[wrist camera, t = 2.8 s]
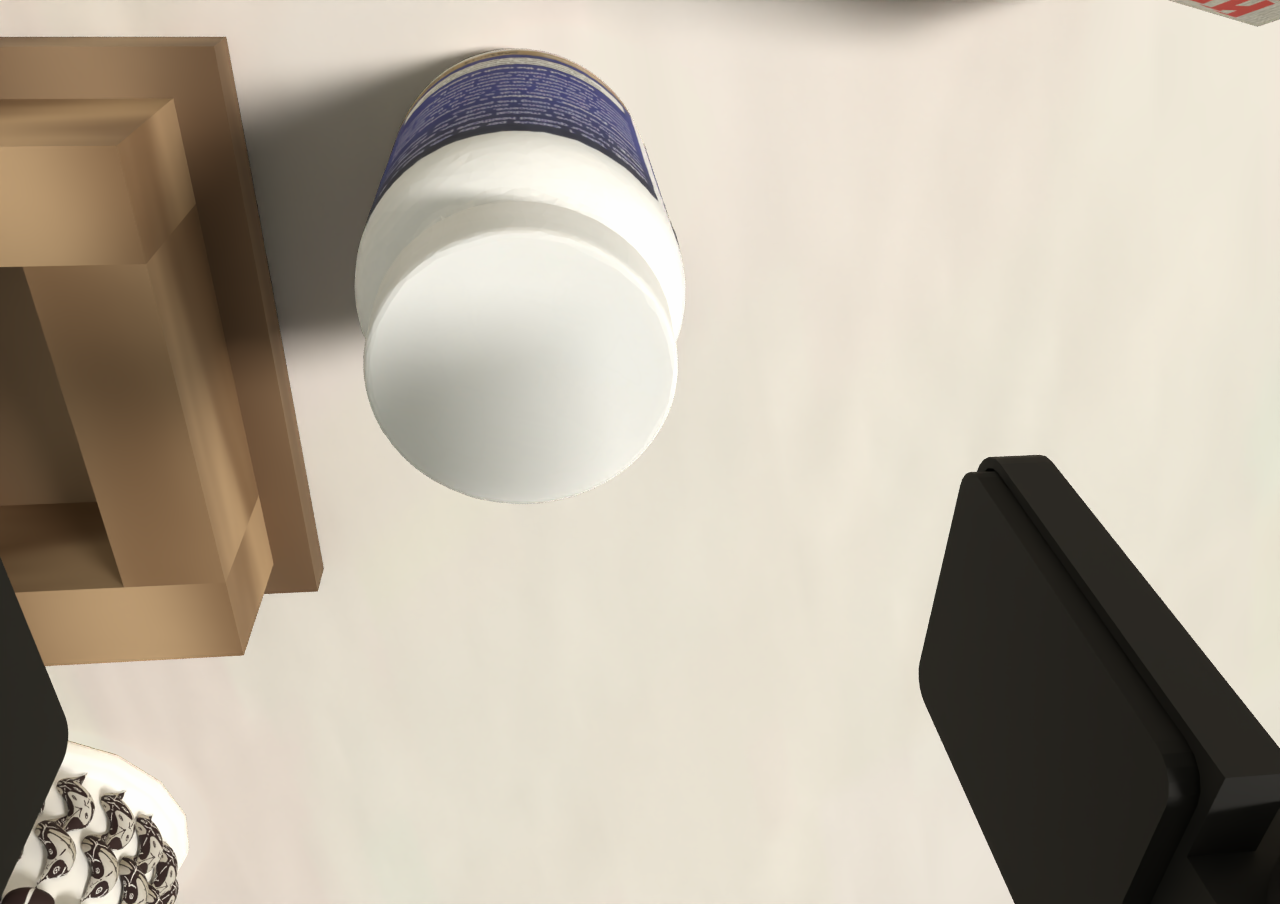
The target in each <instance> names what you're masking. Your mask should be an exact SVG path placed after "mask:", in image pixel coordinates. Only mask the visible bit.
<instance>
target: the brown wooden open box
mask: <svg viewBox="0 0 1280 904" xmlns="http://www.w3.org/2000/svg"><path fill="white" fill-rule="evenodd" d="M0 558H1V560H2V562H3V565H4V567H5V570H6V572H7V575H8V577H9V580H10V582H11V585H12V587H13V589H14V592H15V594H16V597H17V599H18V602H19V604H20V607H21V609H22V612H23V614H24V617H25V619H26V621H27V624H28V626H29V629H30V631H31V634H32V636H33V639H34V641H35V644H36V646H37V648H38V651H39V653H40V656H41V658H42V661H43V663H44V666H54V665H73V664H91V663H110V662H128V661H147V660H166V659H184V658H203V657H221V656H240V655H244V653H245V650H246V647H247V644H248V641H249V638H250V634H251V631H252V628H253V625H254V622H255V619H256V616H257V613H258V610H259V607H260V604H261V601H262V598H263V595H264V594H273V593H294V592H314V591H318V588H319V584H320V580H321V577H322V573H323V569H324V568H323V562H322V557H321V551H320V546H319V541H318V535H317V530H316V524H315V519H314V513H313V508H312V502H311V497H310V492H309V486H308V481H307V475H306V470H305V464H304V459H303V453H302V448H301V442H300V437H299V432H298V426H297V421H296V415H295V410H294V404H293V399H292V393H291V388H290V382H289V377H288V372H287V366H286V361H285V355H284V350H283V344H282V339H281V333H280V328H279V322H278V317H277V312H276V306H275V301H274V295H273V290H272V284H271V279H270V273H269V268H268V262H267V257H266V252H265V246H264V241H263V235H262V230H261V224H260V219H259V213H258V208H257V203H256V197H255V192H254V186H253V181H252V175H251V170H250V164H249V159H248V153H247V148H246V143H245V137H244V132H243V126H242V121H241V115H240V110H239V104H238V99H237V93H236V88H235V83H234V77H233V72H232V66H231V61H230V55H229V50H228V44H227V39H226V37H0Z"/></svg>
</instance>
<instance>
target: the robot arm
mask: <svg viewBox="0 0 1280 904" xmlns="http://www.w3.org/2000/svg"><path fill="white" fill-rule="evenodd" d="M919 684H920V690H921V694H922V697H923V700H924V703H925V705H926V707H927V709H928V712H929V714H930V716H931V718H932V721H933V723H934V725H935V727H936V730H937V732H938V734H939V736H940V738H941V741H942V743H943V745H944V747H945V750H946V752H947V754H948V756H949V758H950V761H951V763H952V765H953V767H954V770H955V772H956V774H957V776H958V778H959V781H960V783H961V785H962V787H963V790H964V792H965V794H966V796H967V798H968V801H969V803H970V805H971V807H972V810H973V812H974V814H975V816H976V819H977V821H978V823H979V825H980V827H981V830H982V832H983V834H984V836H985V839H986V841H987V843H988V845H989V847H990V850H991V852H992V854H993V856H994V859H995V861H996V863H997V865H998V867H999V870H1000V872H1001V874H1002V876H1003V879H1004V881H1005V883H1006V885H1007V887H1008V890H1009V892H1010V894H1011V896H1012V899H1013V901H1014V903H1015V904H1280V748H1279V747H1278V746H1277V744H1276V743H1275V742H1274V740H1273V739H1272V738H1271V737H1270V735H1269V734H1268V733H1267V732H1266V730H1265V729H1264V728H1263V727H1262V725H1261V724H1260V723H1259V722H1258V720H1257V719H1256V718H1255V717H1254V715H1253V714H1252V713H1251V712H1250V710H1249V709H1248V708H1247V706H1246V705H1245V704H1244V703H1243V701H1242V700H1241V699H1240V698H1239V696H1238V695H1237V694H1236V693H1235V691H1234V690H1233V689H1232V688H1231V686H1230V685H1229V684H1228V683H1227V681H1226V680H1225V679H1224V678H1223V676H1222V675H1221V674H1220V673H1219V671H1218V670H1217V669H1216V667H1215V666H1214V665H1213V664H1212V662H1211V661H1210V660H1209V659H1208V657H1207V656H1206V655H1205V654H1204V652H1203V651H1202V650H1201V649H1200V647H1199V646H1198V645H1197V644H1196V642H1195V641H1194V640H1193V639H1192V637H1191V636H1190V635H1189V634H1188V632H1187V631H1186V630H1185V628H1184V627H1183V626H1182V625H1181V623H1180V622H1179V621H1178V620H1177V618H1176V617H1175V616H1174V615H1173V613H1172V612H1171V611H1170V610H1169V608H1168V607H1167V606H1166V605H1165V603H1164V602H1163V601H1162V600H1161V598H1160V597H1159V596H1158V595H1157V593H1156V592H1155V591H1154V589H1153V588H1152V587H1151V586H1150V584H1149V583H1148V582H1147V581H1146V579H1145V578H1144V577H1143V576H1142V574H1141V573H1140V572H1139V571H1138V569H1137V568H1136V567H1135V566H1134V564H1133V563H1132V562H1131V561H1130V559H1129V558H1128V557H1127V555H1126V554H1125V553H1124V552H1123V550H1122V549H1121V548H1120V547H1119V545H1118V544H1117V543H1116V542H1115V540H1114V539H1113V538H1112V537H1111V535H1110V534H1109V533H1108V532H1107V530H1106V529H1105V528H1104V527H1103V525H1102V524H1101V523H1100V522H1099V520H1098V519H1097V518H1096V516H1095V515H1094V514H1093V513H1092V511H1091V510H1090V509H1089V508H1088V506H1087V505H1086V504H1085V503H1084V501H1083V500H1082V499H1081V498H1080V496H1079V495H1078V494H1077V493H1076V491H1075V490H1074V489H1073V488H1072V486H1071V485H1070V484H1069V483H1068V481H1067V480H1066V479H1065V477H1064V476H1063V475H1062V474H1061V472H1060V471H1059V470H1058V469H1057V467H1056V466H1055V465H1054V464H1053V462H1052V461H1051V460H1049V459H1048V458H1047V457H1046V456H1042V455H1027V456H1004V457H988V458H986V459H984V460H983V461H982V463H981V464H980V466H979V468H978V471H977V472H969V473H967V474H966V475H965V476H964V478H963V479H962V482H961V485H960V489H959V493H958V498H957V502H956V507H955V511H954V515H953V520H952V524H951V528H950V533H949V537H948V541H947V546H946V550H945V554H944V559H943V563H942V568H941V572H940V576H939V581H938V585H937V589H936V594H935V598H934V602H933V607H932V611H931V615H930V620H929V624H928V629H927V633H926V637H925V642H924V646H923V650H922V655H921V659H920V664H919ZM67 745H68V725H67V721H66V717H65V715H64V712H63V710H62V707H61V705H60V702H59V700H58V698H57V695H56V693H55V690H54V688H53V685H52V683H51V680H50V678H49V675H48V673H47V671H46V668H45V666H44V663H43V661H42V658H41V656H40V653H39V651H38V648H37V646H36V644H35V641H34V639H33V636H32V634H31V631H30V629H29V626H28V624H27V621H26V619H25V617H24V614H23V612H22V609H21V607H20V604H19V602H18V599H17V597H16V594H15V592H14V589H13V587H12V585H11V582H10V580H9V577H8V575H7V572H6V570H5V567H4V565H3V562H2V560H1V558H0V899H1V896H2V894H3V892H4V890H5V888H6V885H7V883H8V881H9V879H10V877H11V874H12V872H13V870H14V868H15V866H16V863H17V861H18V859H19V857H20V855H21V852H22V850H23V848H24V846H25V844H26V841H27V839H28V837H29V835H30V833H31V830H32V828H33V826H34V824H35V822H36V819H37V817H38V815H39V813H40V811H41V808H42V806H43V804H44V802H45V800H46V797H47V795H48V793H49V791H50V789H51V786H52V784H53V782H54V780H55V777H56V775H57V773H58V771H59V769H60V766H61V764H62V762H63V760H64V757H65V754H66V750H67Z"/></svg>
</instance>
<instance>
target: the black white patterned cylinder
mask: <svg viewBox="0 0 1280 904" xmlns="http://www.w3.org/2000/svg"><path fill="white" fill-rule="evenodd" d="M188 850H189V840H188V831H187V822H186V814H185V813H184V812H183V810H182V809H181V808H180V806H179V805H178V804H177V802H176V801H175V800H174V798H173V797H172V796H171V794H170V793H169V792H168V791H167V789H166V788H165V787H164V785H163V784H162V783H161V782H160V781H159V780H157V779H155V778H154V777H152V776H150V775H149V774H147V773H146V772H144V771H142V770H141V769H139V768H138V767H136V766H134V765H133V764H131V763H130V762H128V761H126V760H125V759H123V758H121V757H120V756H118V755H115V754H111V753H108V752H104V751H101V750H98V749H94V748H91V747H87V746H84V745H80V744H77V743H73V742H70V741H68V745H67V750H66V754H65V757H64V760H63V762H62V764H61V766H60V769H59V771H58V773H57V775H56V777H55V780H54V782H53V784H52V786H51V789H50V791H49V793H48V795H47V797H46V800H45V802H44V804H43V806H42V808H41V811H40V813H39V815H38V817H37V819H36V822H35V824H34V826H33V828H32V830H31V833H30V835H29V837H28V839H27V841H26V844H25V846H24V848H23V850H22V852H21V855H20V857H19V859H18V861H17V863H16V866H15V868H14V870H13V872H12V874H11V877H10V879H9V881H8V883H7V885H6V888H5V890H4V892H3V894H2V896H1V899H0V904H174V902H175V900H176V897H177V894H178V882H177V880H176V875H177V872H178V870H179V868H180V867H181V865H182V863H183V861H184V860H185V858H186V856H187V853H188Z"/></svg>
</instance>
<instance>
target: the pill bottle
mask: <svg viewBox="0 0 1280 904" xmlns="http://www.w3.org/2000/svg"><path fill="white" fill-rule="evenodd" d="M355 299H356V308H357V313H358V318H359V322H360V325H361V329H362V332H363V335H364V337H365V347H364V356H363V359H364V379H365V386H366V391H367V395H368V399H369V402H370V405H371V408H372V411H373V413H374V415H375V417H376V420H377V422H378V424H379V425H380V427H381V429H382V431H383V433H384V434H385V435H386V436H387V438H388V439H389V441H390V442H391V444H392V445H393V446H394V447H395V448H396V449H397V451H398V452H399V453H400V454H401V455H402V456H403V457H404V458H405V459H406V460H407V461H408V462H409V463H410V464H412V465H413V466H414V467H415V468H416V469H418V470H419V471H420V472H422V473H423V474H425V475H426V476H428V477H429V478H431V479H432V480H434V481H436V482H438V483H440V484H442V485H444V486H446V487H448V488H450V489H452V490H455V491H457V492H460V493H462V494H465V495H467V496H470V497H474V498H478V499H483V500H488V501H493V502H500V503H511V504H533V503H544V502H550V501H556V500H560V499H564V498H569V497H572V496H575V495H578V494H581V493H584V492H586V491H589V490H591V489H593V488H595V487H597V486H599V485H601V484H603V483H605V482H607V481H609V480H610V479H612V478H613V477H615V476H616V475H618V474H619V473H621V472H622V471H623V470H625V469H626V468H627V467H629V466H630V465H631V464H632V463H633V462H634V461H635V460H636V459H637V458H638V457H639V456H640V455H641V454H642V453H643V452H644V451H645V450H646V448H647V447H648V446H649V445H650V443H651V442H652V441H653V439H654V438H655V436H656V435H657V433H658V432H659V430H660V429H661V427H662V425H663V423H664V421H665V419H666V417H667V415H668V413H669V410H670V408H671V405H672V402H673V399H674V395H675V388H676V382H677V375H678V359H677V348H676V341H677V339H678V336H679V332H680V329H681V325H682V320H683V314H684V307H685V277H684V268H683V262H682V257H681V253H680V248H679V244H678V241H677V237H676V234H675V232H674V229H673V227H672V224H671V221H670V219H669V217H668V214H667V211H666V208H665V205H664V202H663V199H662V196H661V193H660V190H659V187H658V184H657V181H656V178H655V175H654V172H653V169H652V166H651V163H650V160H649V157H648V154H647V151H646V148H645V145H644V143H643V140H642V138H641V136H640V134H639V131H638V129H637V126H636V124H635V122H634V120H633V118H632V116H631V115H630V113H629V111H628V110H627V108H626V107H625V105H624V104H623V103H622V101H621V100H620V99H619V97H618V96H617V95H616V94H615V93H614V91H613V90H612V89H611V88H610V87H609V86H608V85H607V84H606V83H605V82H603V81H602V80H601V79H600V78H599V77H597V76H596V75H595V74H593V73H592V72H590V71H589V70H587V69H586V68H584V67H583V66H581V65H579V64H577V63H575V62H573V61H571V60H569V59H566V58H564V57H561V56H559V55H556V54H552V53H548V52H544V51H538V50H531V49H503V50H495V51H490V52H486V53H482V54H479V55H476V56H473V57H470V58H468V59H465V60H463V61H461V62H459V63H457V64H455V65H454V66H452V67H450V68H449V69H447V70H445V71H444V72H443V73H442V74H440V75H439V76H438V77H437V78H435V79H434V80H433V81H432V82H431V83H430V84H429V85H428V86H427V87H426V88H425V89H424V90H423V91H422V93H421V94H420V95H419V96H418V98H417V99H416V100H415V102H414V103H413V105H412V106H411V108H410V110H409V111H408V113H407V115H406V117H405V119H404V121H403V123H402V125H401V127H400V129H399V132H398V135H397V138H396V141H395V144H394V146H393V149H392V152H391V155H390V158H389V161H388V164H387V166H386V169H385V172H384V174H383V177H382V180H381V182H380V185H379V188H378V191H377V194H376V197H375V200H374V203H373V205H372V208H371V210H370V213H369V216H368V219H367V222H366V225H365V228H364V231H363V234H362V238H361V241H360V245H359V249H358V254H357V261H356V269H355Z"/></svg>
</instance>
